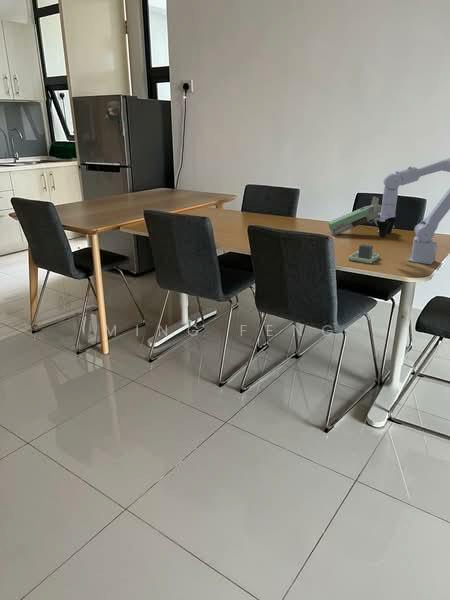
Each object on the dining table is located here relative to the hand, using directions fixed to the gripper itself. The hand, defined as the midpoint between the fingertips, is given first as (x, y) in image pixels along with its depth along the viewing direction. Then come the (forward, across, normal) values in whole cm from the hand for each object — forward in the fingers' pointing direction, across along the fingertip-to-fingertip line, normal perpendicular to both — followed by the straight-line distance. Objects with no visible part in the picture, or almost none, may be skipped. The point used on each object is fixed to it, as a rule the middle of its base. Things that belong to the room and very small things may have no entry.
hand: (385, 235), depth 194 cm
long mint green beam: (+11, -41, -25) cm, 49 cm away
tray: (+10, +5, -6) cm, 13 cm away
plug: (+10, +5, -6) cm, 12 cm away
